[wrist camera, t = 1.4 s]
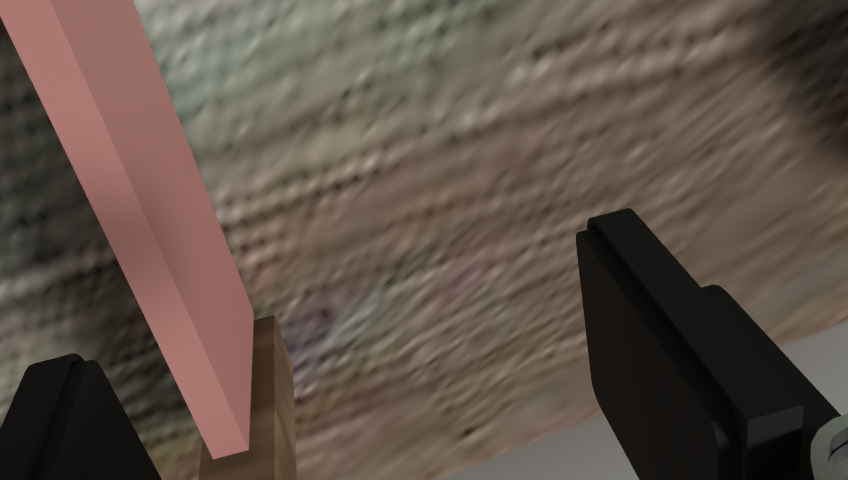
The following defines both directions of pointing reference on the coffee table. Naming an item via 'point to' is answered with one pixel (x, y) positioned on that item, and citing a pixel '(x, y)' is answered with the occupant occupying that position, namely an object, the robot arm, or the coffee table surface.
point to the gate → (145, 197)
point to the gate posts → (263, 416)
